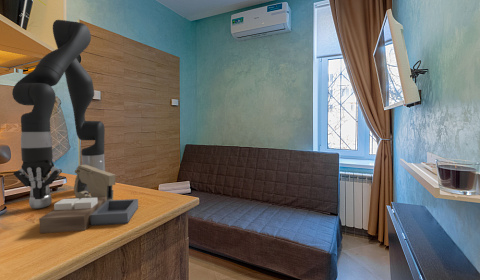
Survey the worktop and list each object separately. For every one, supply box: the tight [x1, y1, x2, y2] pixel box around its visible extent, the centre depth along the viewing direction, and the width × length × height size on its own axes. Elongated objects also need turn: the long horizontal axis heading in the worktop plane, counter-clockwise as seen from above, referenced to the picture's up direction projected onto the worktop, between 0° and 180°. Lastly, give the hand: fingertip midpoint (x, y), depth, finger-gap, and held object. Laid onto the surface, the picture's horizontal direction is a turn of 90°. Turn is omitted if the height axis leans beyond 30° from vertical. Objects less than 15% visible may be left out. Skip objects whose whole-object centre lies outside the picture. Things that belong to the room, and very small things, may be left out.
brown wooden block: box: [38, 197, 107, 234], centre depth 78 cm, size 18×12×4 cm, turn 11°
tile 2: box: [74, 198, 98, 209], centre depth 78 cm, size 5×5×2 cm
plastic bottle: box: [28, 172, 53, 209], centre depth 88 cm, size 6×7×20 cm
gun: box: [73, 164, 116, 200], centre depth 95 cm, size 24×3×15 cm, turn 62°
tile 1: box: [53, 197, 79, 210], centre depth 77 cm, size 5×5×2 cm
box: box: [90, 198, 139, 227], centre depth 81 cm, size 14×11×4 cm
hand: (39, 198), depth 75 cm, fingers closed
